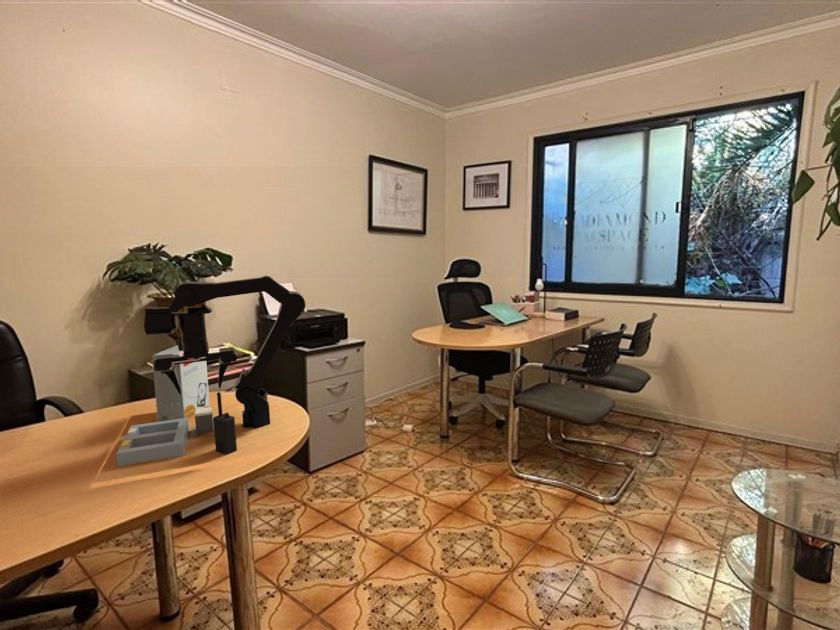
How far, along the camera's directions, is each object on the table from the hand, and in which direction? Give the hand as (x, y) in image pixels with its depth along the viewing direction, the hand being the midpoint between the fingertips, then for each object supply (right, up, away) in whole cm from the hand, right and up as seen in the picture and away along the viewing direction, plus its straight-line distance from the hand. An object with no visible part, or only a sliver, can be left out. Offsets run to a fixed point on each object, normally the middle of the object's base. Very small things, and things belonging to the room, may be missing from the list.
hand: (200, 390), depth 119 cm
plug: (0, -11, +2) cm, 11 cm away
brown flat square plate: (0, -12, +2) cm, 12 cm away
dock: (-7, -13, -7) cm, 16 cm away
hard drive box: (-12, -10, +15) cm, 22 cm away
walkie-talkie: (+11, -14, -10) cm, 20 cm away
